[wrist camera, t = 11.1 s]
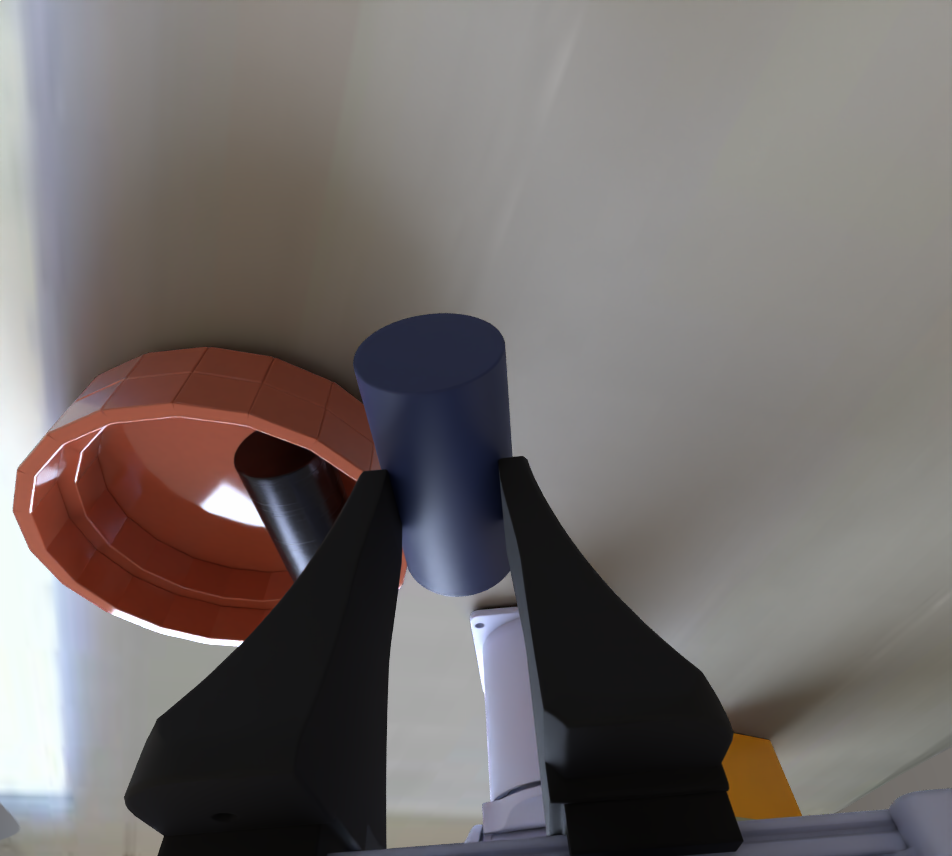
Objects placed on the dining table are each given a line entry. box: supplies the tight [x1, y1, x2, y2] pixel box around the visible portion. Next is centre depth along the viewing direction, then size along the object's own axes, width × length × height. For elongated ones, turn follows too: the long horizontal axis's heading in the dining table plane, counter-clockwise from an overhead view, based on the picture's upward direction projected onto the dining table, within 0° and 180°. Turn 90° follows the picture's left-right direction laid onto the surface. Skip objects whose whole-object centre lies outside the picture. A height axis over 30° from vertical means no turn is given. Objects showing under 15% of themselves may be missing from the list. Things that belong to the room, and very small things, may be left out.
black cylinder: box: [234, 430, 348, 582], centre depth 23 cm, size 7×3×3 cm, turn 6°
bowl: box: [13, 346, 407, 646], centre depth 23 cm, size 14×14×4 cm
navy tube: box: [353, 313, 512, 597], centre depth 14 cm, size 7×3×3 cm
